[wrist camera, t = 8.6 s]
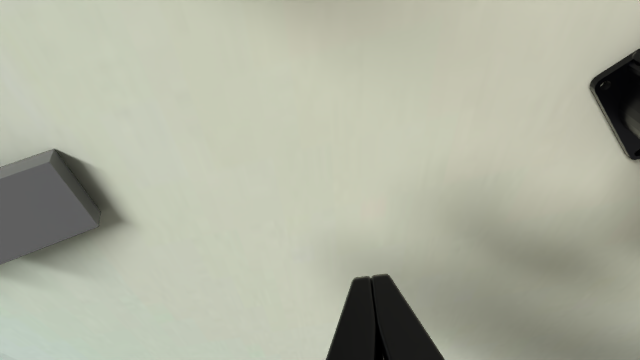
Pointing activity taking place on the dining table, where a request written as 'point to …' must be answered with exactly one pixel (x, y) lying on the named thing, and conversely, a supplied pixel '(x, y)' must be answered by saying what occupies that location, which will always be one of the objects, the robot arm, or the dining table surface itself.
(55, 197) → the domino
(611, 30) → the dining table surface
